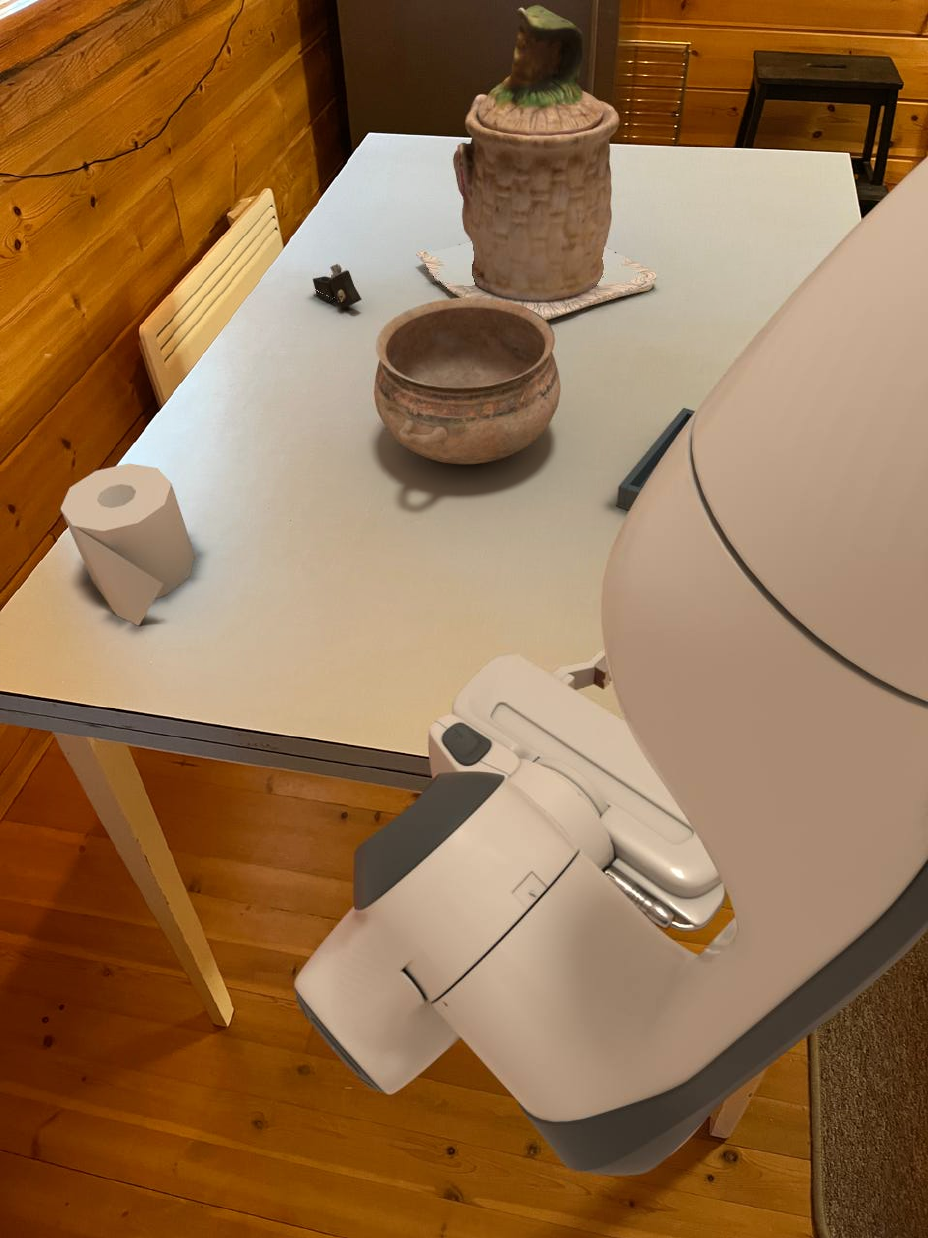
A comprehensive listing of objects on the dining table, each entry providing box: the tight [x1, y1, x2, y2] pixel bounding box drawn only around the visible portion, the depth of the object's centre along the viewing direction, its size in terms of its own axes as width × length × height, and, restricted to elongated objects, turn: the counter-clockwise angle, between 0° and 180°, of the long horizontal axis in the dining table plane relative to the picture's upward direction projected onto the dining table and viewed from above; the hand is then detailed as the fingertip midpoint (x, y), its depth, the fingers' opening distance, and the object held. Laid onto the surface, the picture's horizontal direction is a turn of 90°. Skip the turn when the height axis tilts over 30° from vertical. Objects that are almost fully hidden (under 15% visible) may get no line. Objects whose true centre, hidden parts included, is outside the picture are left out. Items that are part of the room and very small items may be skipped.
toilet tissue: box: [60, 463, 196, 627], centre depth 83 cm, size 9×13×9 cm
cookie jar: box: [416, 4, 658, 321], centre depth 114 cm, size 25×25×32 cm
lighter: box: [312, 263, 363, 311], centre depth 121 cm, size 8×2×5 cm
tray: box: [616, 407, 696, 511], centre depth 91 cm, size 16×16×2 cm
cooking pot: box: [373, 297, 561, 465], centre depth 95 cm, size 25×19×12 cm
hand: (670, 696), depth 61 cm, fingers open, 8 cm apart
